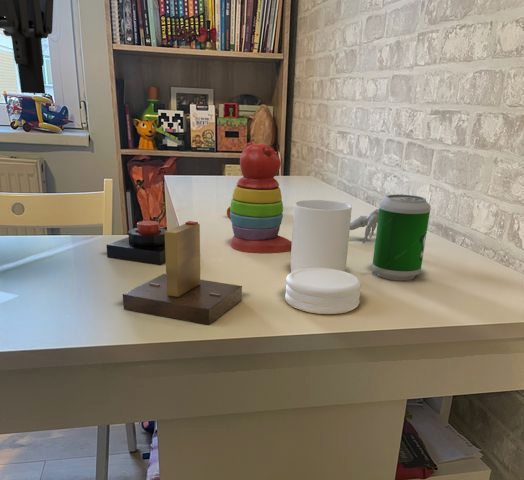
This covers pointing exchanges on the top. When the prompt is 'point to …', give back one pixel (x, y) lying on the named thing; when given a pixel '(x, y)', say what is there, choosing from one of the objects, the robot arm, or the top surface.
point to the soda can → (400, 236)
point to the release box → (139, 248)
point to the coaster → (322, 290)
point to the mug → (320, 234)
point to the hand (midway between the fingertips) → (33, 92)
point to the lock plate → (183, 300)
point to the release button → (148, 227)
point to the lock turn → (182, 258)
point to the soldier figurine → (366, 223)
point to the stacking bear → (258, 203)
